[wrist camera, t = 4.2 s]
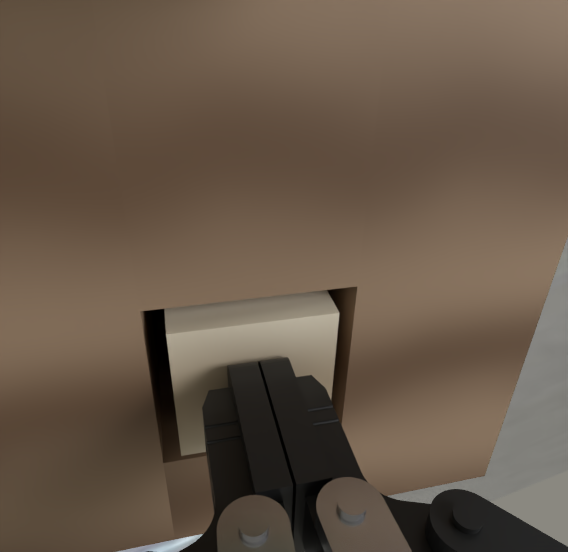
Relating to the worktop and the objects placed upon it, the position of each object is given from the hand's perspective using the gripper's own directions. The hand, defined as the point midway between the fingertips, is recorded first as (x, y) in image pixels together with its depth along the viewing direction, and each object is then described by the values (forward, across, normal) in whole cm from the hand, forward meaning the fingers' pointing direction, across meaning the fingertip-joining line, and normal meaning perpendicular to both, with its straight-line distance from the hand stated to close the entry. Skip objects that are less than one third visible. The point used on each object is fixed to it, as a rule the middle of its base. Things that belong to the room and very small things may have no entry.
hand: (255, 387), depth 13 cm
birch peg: (+8, 0, 0) cm, 8 cm away
